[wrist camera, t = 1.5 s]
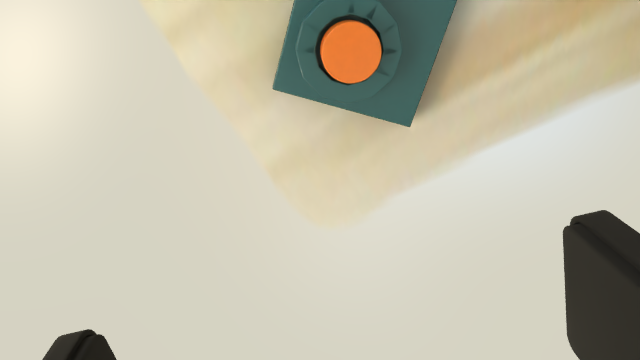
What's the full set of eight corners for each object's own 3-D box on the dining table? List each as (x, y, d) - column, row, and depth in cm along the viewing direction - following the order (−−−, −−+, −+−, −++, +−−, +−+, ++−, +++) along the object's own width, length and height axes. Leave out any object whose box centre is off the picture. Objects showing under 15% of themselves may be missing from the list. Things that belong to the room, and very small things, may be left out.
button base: (320, -102, 30) (324, -115, 26) (465, -52, 31) (488, -57, 27) (273, 83, 34) (270, 95, 30) (403, 119, 35) (416, 134, 32)
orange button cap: (329, 12, 29) (331, 13, 27) (384, 29, 29) (390, 31, 28) (313, 69, 30) (314, 74, 28) (366, 85, 31) (370, 90, 29)
